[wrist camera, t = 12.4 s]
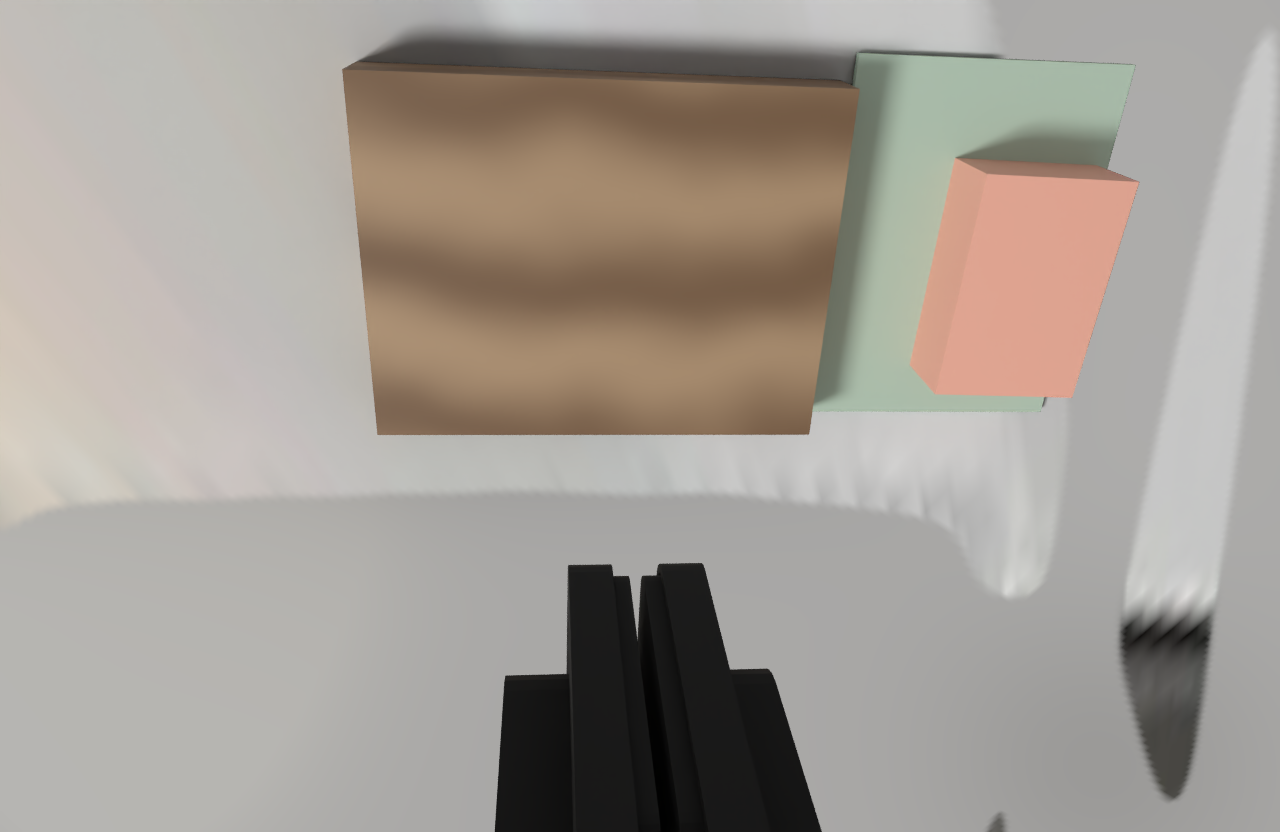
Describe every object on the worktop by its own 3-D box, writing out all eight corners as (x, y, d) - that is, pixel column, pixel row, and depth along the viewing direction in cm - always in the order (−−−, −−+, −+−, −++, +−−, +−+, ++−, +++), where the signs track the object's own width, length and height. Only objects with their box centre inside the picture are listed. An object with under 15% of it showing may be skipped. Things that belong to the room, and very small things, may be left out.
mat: (856, 52, 34) (859, 53, 34) (1131, 64, 35) (1135, 65, 35) (805, 408, 41) (807, 411, 41) (1037, 408, 42) (1040, 411, 42)
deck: (356, 61, 33) (342, 69, 31) (840, 80, 35) (859, 89, 32) (387, 407, 39) (377, 434, 37) (794, 408, 41) (809, 434, 39)
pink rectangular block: (1139, 181, 34) (1096, 165, 37) (987, 174, 33) (954, 157, 36) (1072, 397, 38) (1037, 368, 41) (935, 394, 37) (909, 364, 40)
